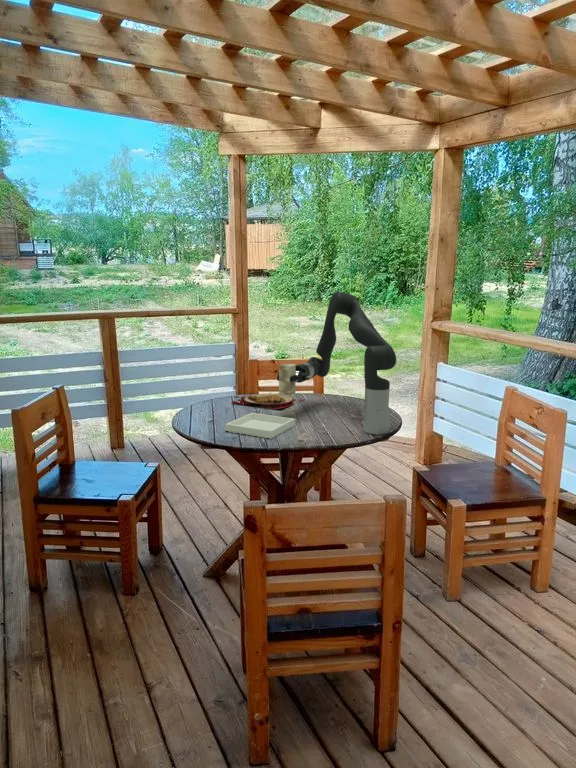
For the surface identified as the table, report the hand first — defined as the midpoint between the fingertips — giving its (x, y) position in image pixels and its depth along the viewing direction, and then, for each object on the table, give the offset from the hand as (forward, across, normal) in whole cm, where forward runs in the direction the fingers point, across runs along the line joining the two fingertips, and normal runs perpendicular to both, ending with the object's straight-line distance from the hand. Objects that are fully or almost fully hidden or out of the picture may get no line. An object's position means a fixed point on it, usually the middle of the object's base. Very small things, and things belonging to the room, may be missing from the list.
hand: (284, 378), depth 222 cm
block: (-3, 0, +7) cm, 7 cm away
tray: (+14, -3, +18) cm, 23 cm away
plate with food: (-27, -22, +19) cm, 40 cm away
